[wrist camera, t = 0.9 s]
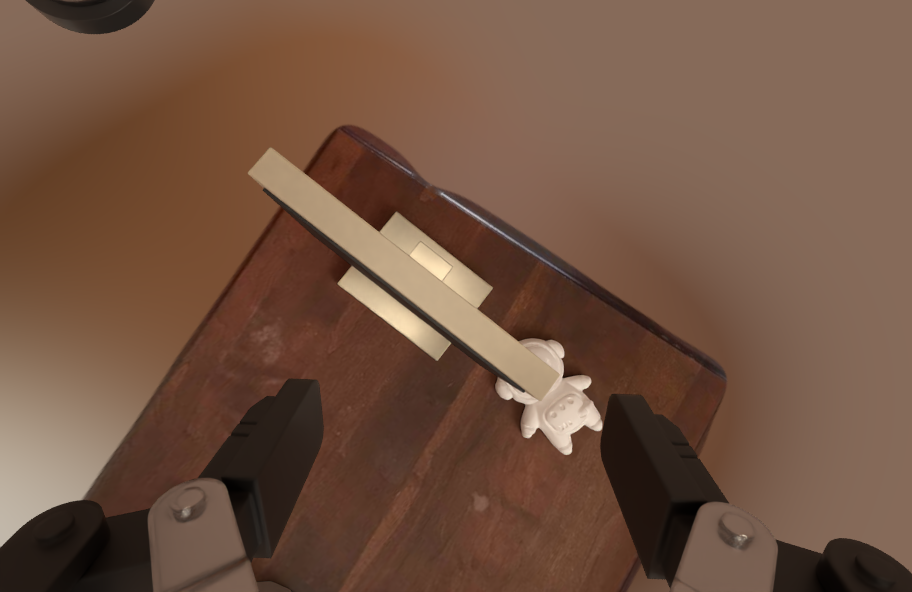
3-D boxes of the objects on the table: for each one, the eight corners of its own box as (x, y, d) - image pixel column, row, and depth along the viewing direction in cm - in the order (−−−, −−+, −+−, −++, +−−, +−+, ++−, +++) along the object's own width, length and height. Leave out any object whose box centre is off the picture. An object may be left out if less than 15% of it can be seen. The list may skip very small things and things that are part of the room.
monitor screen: (487, 371, 33) (539, 404, 20) (308, 232, 32) (244, 175, 19) (501, 352, 34) (561, 374, 21) (323, 214, 33) (270, 146, 20)
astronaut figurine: (540, 467, 44) (551, 478, 41) (479, 364, 43) (485, 367, 40) (611, 419, 45) (626, 427, 42) (552, 319, 44) (562, 319, 41)
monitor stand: (436, 360, 43) (448, 376, 31) (338, 284, 42) (311, 271, 30) (490, 288, 44) (523, 277, 32) (396, 213, 43) (393, 173, 31)
